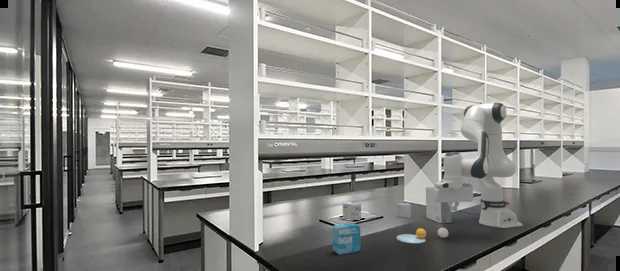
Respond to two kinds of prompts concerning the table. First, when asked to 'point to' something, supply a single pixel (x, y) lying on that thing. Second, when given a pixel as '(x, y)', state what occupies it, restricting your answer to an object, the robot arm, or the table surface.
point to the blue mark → (410, 238)
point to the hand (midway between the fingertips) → (453, 210)
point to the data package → (346, 238)
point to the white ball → (443, 232)
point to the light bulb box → (352, 210)
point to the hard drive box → (437, 208)
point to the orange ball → (421, 233)
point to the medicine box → (404, 210)
